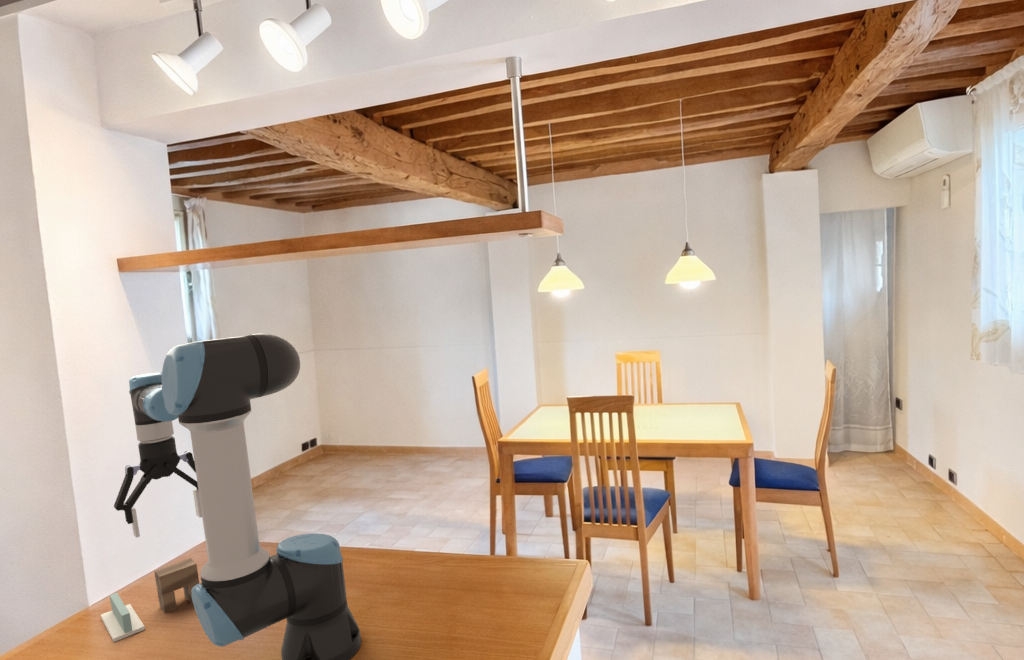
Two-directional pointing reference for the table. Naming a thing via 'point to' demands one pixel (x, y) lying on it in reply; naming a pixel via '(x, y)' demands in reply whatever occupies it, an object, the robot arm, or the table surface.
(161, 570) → the brown notched block
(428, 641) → the table surface
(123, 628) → the inverted t-shaped bar
